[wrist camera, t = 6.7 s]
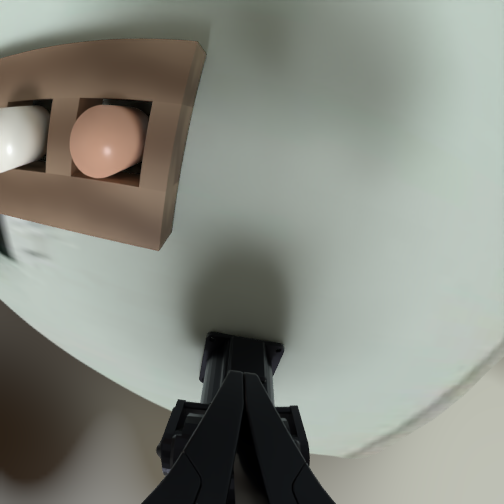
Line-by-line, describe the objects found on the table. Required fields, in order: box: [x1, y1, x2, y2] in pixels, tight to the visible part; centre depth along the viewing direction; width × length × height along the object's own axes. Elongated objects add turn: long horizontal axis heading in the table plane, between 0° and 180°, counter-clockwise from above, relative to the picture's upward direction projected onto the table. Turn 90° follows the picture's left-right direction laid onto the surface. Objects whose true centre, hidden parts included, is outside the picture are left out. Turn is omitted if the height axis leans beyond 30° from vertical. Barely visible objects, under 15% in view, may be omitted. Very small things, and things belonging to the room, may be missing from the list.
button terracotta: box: [70, 105, 149, 178], centre depth 14 cm, size 4×4×4 cm
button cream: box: [0, 105, 50, 173], centre depth 12 cm, size 4×4×4 cm
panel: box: [0, 39, 206, 251], centre depth 14 cm, size 12×22×3 cm, turn 77°
